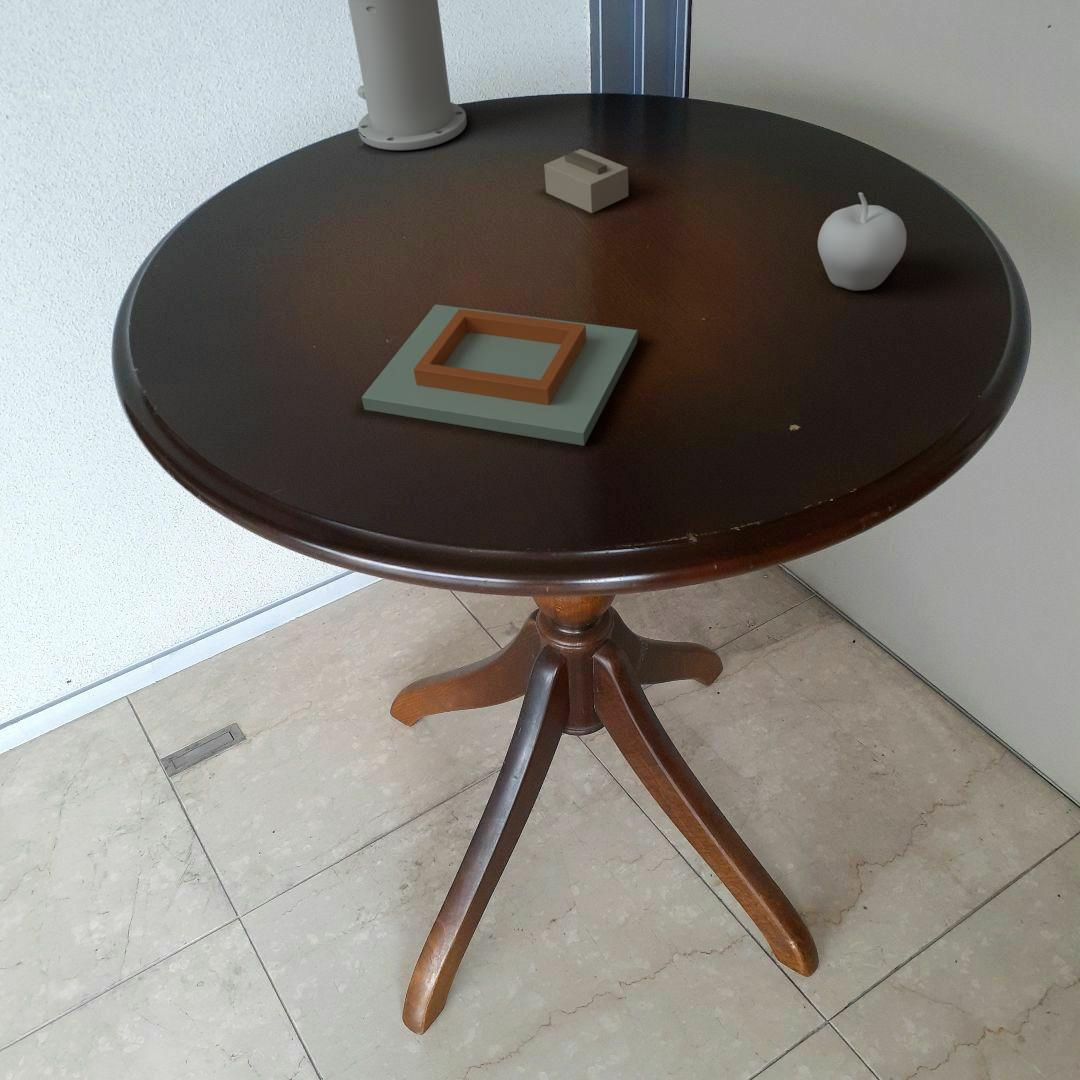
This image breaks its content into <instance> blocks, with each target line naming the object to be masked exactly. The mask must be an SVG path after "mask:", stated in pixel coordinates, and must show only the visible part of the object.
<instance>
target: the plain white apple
mask: <svg viewBox="0 0 1080 1080" xmlns="http://www.w3.org/2000/svg"><path fill="white" fill-rule="evenodd" d="M857 194H858V197H859V200H860V203H861V204H859V203H858V204H853V205H850V206H847V207H843V208H840V209H838V210H835V211H833V212H832V213H831V214H830V215H829V216H828V217H827V218H826V219H825V220H824V222H823V224H822V225H821V226H820V227H821V228H820V230H819V233H818V237H817V250H818V254H819V257H820V260H821V262H822V264H823V268H824V270H825V272H826V274H827V278H828V279H829V281H830V283H832V285H834V286H836V287H838V288H842V289H846V290H849V291H851V292H853V291H854V292H858V291H869V290H874V289H876V288H877V287H879V286H880V285H881V284H882V283H884V282H885V281H886V279H887V278H888V277H889V275H890V274H891V272H893V270H894V268H895V267H896V266H897V265H898V264H899V262H900V261H901V259H902V257H903V255H904V253H905V250H906V248H907V230H906V226H905V223H904V221H903V220H902V218H901V217H900V216H899V215H898V214H896V213H895V212H893V211H891V210H890V209H888V208H886V207H884V206H882V205H876V204H875V205H874V204H868V201H867V199H866V197H865V195H864V193H863V192H862V191H861V192H858V193H857Z"/></svg>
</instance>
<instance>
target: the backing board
mask: <svg viewBox="0 0 1080 1080" xmlns="http://www.w3.org/2000/svg"><path fill="white" fill-rule="evenodd" d="M637 344H638V329H630V328H625V327H616V326H607V325H600V324H593V323H584V322H578V321H577V322H576V321H569V320H562V319H553V318H545V317H539V316H538V317H537V316H531V315H522V314H515V313H507V312H499V311H498V312H497V311H490V310H483V309H477V308H476V309H475V308H467V307H459V306H451V305H444V304H434V306H433V307H432V308H431V309H430V311H429V312H428V313H427V314H426V315H425V317H424V318H423V319H422V321H421V322H420V323H419V325H418V326H417V327H415V329H414V330H413V331H412V333H411V335H410V336H409V337H408V338H407V340H406V341H405V342H404V343H403V345H402V346H401V347H400V348H399V349H398V351H397V352H396V353H395V354H394V356H393V357H392V358H391V360H390V361H389V362H388V363H387V365H386V366H385V367H384V368H383V370H382V371H381V372H380V373H379V375H378V376H377V377H376V378H375V379H374V381H373V382H372V383H371V385H369V387H368V388H367V390H365V392H364V393H363V395H362V396H361V401H362V406H363V409H364V410H365V411H370V412H376V413H382V414H389V415H394V416H401V417H407V418H413V419H419V420H425V421H430V422H431V421H432V422H436V423H442V424H443V423H444V424H449V425H455V426H456V425H457V426H462V427H466V428H474V429H479V430H480V429H481V430H485V431H486V430H487V431H492V432H497V433H503V434H509V435H516V436H522V437H528V438H535V439H539V440H547V441H553V442H557V443H565V444H571V445H577V446H581V447H582V446H585V445H586V443H587V441H588V440H589V437H590V436H591V434H592V433H593V430H594V428H595V426H596V424H597V422H598V420H599V418H600V416H601V414H602V412H603V410H604V408H605V406H606V405H607V402H608V401H609V398H610V397H611V395H612V393H613V391H614V389H615V387H616V385H617V384H618V381H619V380H620V377H621V376H622V373H623V372H624V369H625V367H626V366H627V363H628V362H629V359H630V358H631V356H632V354H633V352H634V350H635V349H636V345H637Z"/></svg>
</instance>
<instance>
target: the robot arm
mask: <svg viewBox="0 0 1080 1080" xmlns="http://www.w3.org/2000/svg"><path fill="white" fill-rule="evenodd" d="M347 4H348V8H349V14H350V18H351V26H352V31H353V35H354V40H355V46H356V52H357V57H358V62H359V68H360V74H361V79H362V84H363V85H360V86H359V87H358V88H357V95H358V97H360V99H363V100H365V103H366V108H367V113H366V115H364V116H363V117H362V118H361V119H360V121H359V122H358V124H357V131H358V137H359V138H360V140H361V142H363V143H364V144H366V145H367V146H370V147H371V148H375V149H379V150H385V151H414V150H420V149H421V150H422V149H428V148H430V147H435V146H438V145H441V144H444V143H446V142H449V141H450V140H453V139H454V138H456V137H458V136H459V135H460V134H461V133H462V132H463V131H464V130H465V129H466V127H467V126H468V125H467V122H468V120H467V113H466V111H465V110H464V108H463V107H461V106H460V105H458V104H457V103H454V102H452V101H451V93H450V85H449V79H448V70H447V63H446V54H445V47H444V40H443V31H442V24H441V17H440V9H439V8H440V7H439V1H438V0H347ZM359 132H360V133H361V134H362V135H363V136H365V137H366V138H365V137H363V136H362V135H361V134H360V133H359Z"/></svg>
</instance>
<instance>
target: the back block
mask: <svg viewBox="0 0 1080 1080" xmlns="http://www.w3.org/2000/svg"><path fill="white" fill-rule="evenodd" d="M543 167H544V180H545V181H544V182H545V192H546V194H549V195H550V196H552V197H555V198H556V199H560V200H561V201H563V202H565V203H568V204H570V205H572V206H575V207H577V208H579V209H581V210H583V211H586V212H588V213H590V214H594V213H596V212H599V211H600V210H602V209H604V208H607V207H609V206H611V205H613V204H615V203H617V202H619V201H621V200H625V199H626V198H627V197H629V167H627V166H625V165H622V164H621V163H617V162H615V161H612V160H610V159H607V158H605V157H603V156H601V155H597V154H595V153H593V152H590V151H587V150H585V149H582V148H579V149H577V150H574V151H571V152H569V153H567V154H565V155H562V156H561V157H558V158H556V159H554V160H551V161H549V162H547V163H545V164H543Z"/></svg>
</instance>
